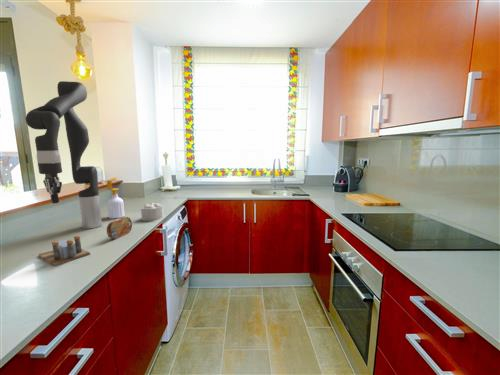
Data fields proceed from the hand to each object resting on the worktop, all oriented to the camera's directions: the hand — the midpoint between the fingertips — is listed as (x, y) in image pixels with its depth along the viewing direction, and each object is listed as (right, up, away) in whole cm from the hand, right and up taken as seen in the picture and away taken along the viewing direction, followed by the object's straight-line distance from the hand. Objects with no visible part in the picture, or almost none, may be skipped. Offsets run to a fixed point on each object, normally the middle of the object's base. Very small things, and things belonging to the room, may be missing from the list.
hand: (55, 202), depth 106 cm
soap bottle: (-2, -12, +53) cm, 54 cm away
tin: (+18, -18, +18) cm, 31 cm away
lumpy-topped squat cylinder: (+22, -12, +50) cm, 56 cm away
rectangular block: (+8, -20, -5) cm, 23 cm away
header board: (+7, -21, -5) cm, 23 cm away
